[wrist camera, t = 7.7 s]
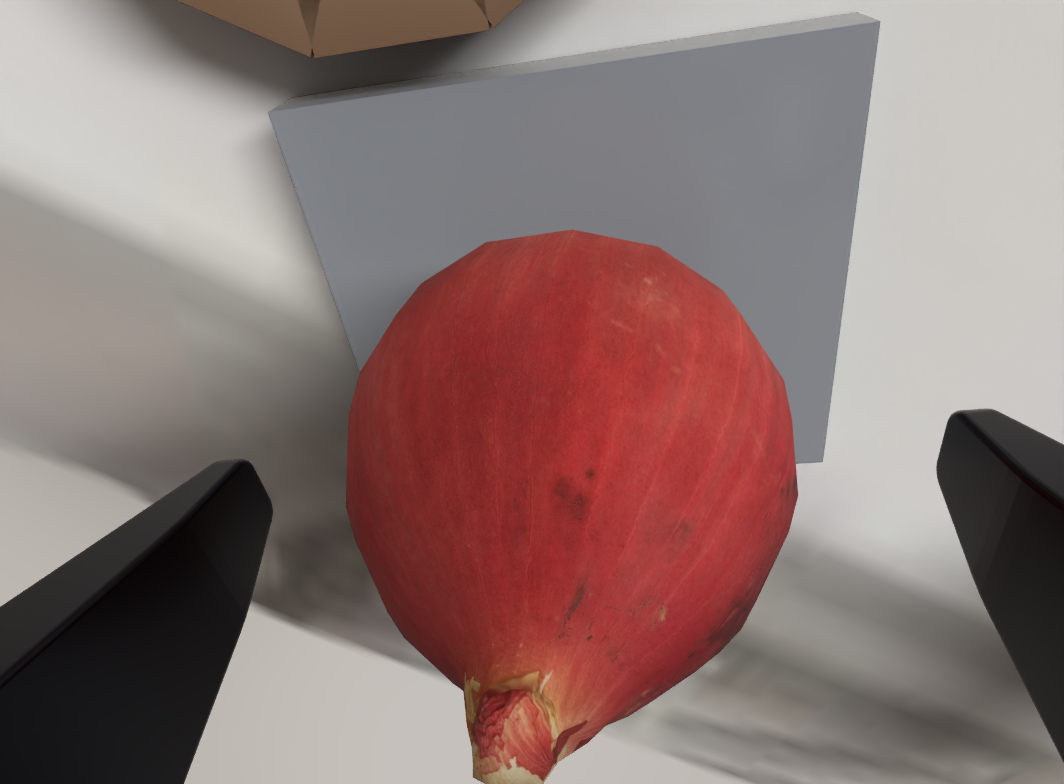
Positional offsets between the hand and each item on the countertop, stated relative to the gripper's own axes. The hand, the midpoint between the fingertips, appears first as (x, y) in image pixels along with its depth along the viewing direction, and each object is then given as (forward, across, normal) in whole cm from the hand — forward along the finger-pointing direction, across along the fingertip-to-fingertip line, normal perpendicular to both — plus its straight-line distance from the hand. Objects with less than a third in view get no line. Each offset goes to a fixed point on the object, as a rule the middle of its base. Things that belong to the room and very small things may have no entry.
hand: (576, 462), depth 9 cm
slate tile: (+5, 0, 0) cm, 5 cm away
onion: (+4, 0, 0) cm, 4 cm away
